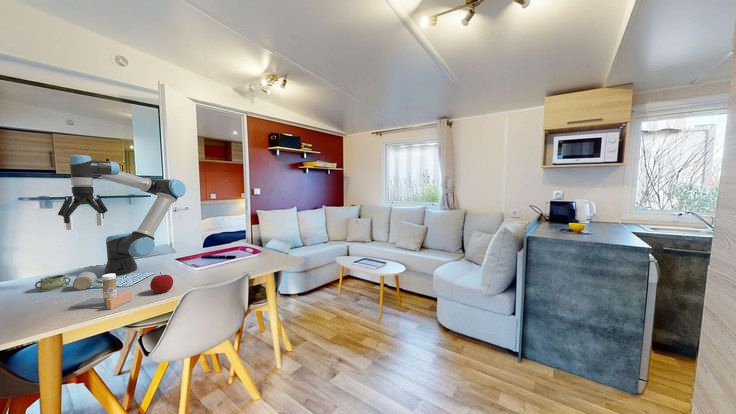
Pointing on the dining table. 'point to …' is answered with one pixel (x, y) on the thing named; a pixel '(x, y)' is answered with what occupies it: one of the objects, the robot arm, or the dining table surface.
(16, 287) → the dining table surface
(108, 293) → the sprinkles bottle
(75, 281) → the ceramic mug
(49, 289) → the vessel
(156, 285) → the apple
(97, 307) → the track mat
